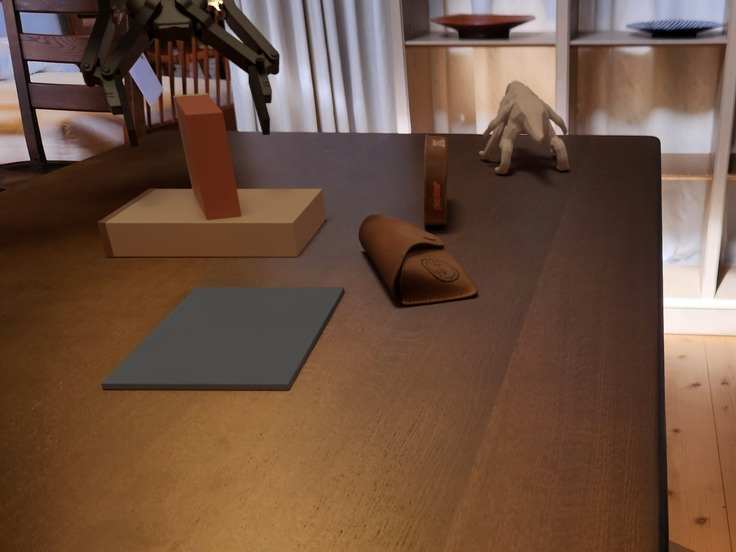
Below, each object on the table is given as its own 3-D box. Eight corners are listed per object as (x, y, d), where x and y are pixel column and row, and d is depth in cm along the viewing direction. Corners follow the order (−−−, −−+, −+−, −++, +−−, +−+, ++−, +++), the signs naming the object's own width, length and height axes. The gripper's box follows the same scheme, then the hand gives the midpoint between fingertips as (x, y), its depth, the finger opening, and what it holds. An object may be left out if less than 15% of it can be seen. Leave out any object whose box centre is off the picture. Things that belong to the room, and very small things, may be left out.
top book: (206, 221, 90) (184, 114, 85) (193, 193, 100) (173, 95, 94) (242, 216, 92) (223, 111, 86) (226, 190, 101) (207, 93, 95)
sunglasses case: (485, 291, 81) (446, 231, 77) (424, 337, 81) (381, 280, 77) (436, 237, 95) (400, 184, 91) (384, 277, 95) (346, 226, 91)
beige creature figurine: (551, 147, 135) (551, 75, 129) (593, 187, 115) (596, 102, 109) (473, 151, 133) (470, 78, 127) (501, 192, 113) (499, 107, 107)
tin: (426, 200, 110) (421, 127, 105) (451, 200, 110) (447, 127, 105) (423, 236, 97) (417, 155, 92) (452, 235, 97) (447, 154, 93)
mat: (102, 389, 66) (100, 383, 65) (196, 292, 83) (195, 286, 83) (288, 390, 65) (287, 384, 65) (344, 292, 82) (344, 286, 82)
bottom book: (106, 257, 92) (97, 222, 90) (156, 220, 104) (149, 188, 102) (297, 257, 91) (292, 222, 89) (326, 220, 103) (322, 188, 101)
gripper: (270, -16, 104) (316, 143, 101) (38, -8, 96) (81, 166, 93) (270, -70, 97) (320, 99, 94) (20, -66, 89) (66, 119, 86)
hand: (201, 133), depth 93 cm, fingers open, 13 cm apart
